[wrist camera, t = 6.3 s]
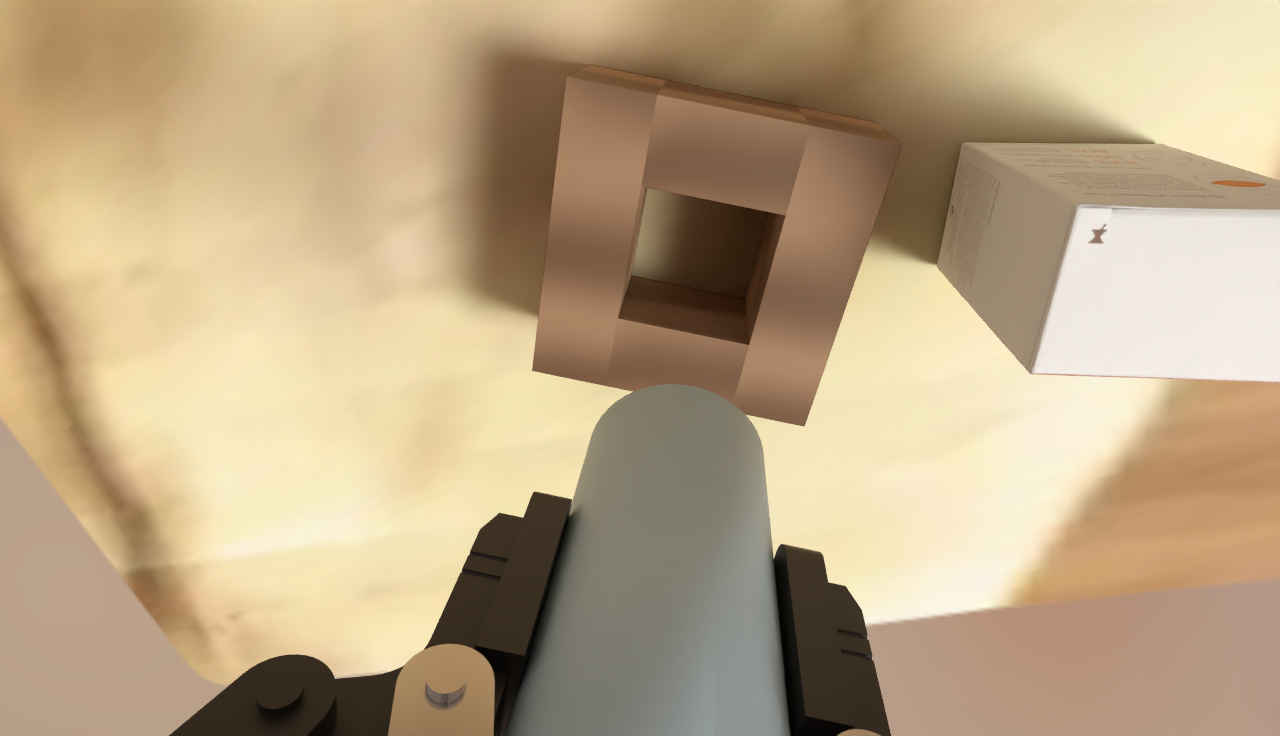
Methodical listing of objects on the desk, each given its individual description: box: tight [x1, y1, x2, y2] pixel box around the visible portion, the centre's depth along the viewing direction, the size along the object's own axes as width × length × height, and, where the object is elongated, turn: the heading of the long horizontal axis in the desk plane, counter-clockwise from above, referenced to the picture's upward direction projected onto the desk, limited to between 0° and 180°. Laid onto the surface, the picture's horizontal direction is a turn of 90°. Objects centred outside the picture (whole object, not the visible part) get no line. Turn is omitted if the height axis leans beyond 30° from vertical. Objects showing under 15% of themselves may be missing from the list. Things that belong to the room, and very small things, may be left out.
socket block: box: [532, 65, 902, 426], centre depth 30 cm, size 12×12×5 cm
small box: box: [937, 142, 1280, 383], centre depth 25 cm, size 8×6×10 cm
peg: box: [504, 384, 791, 736], centre depth 11 cm, size 4×4×12 cm
